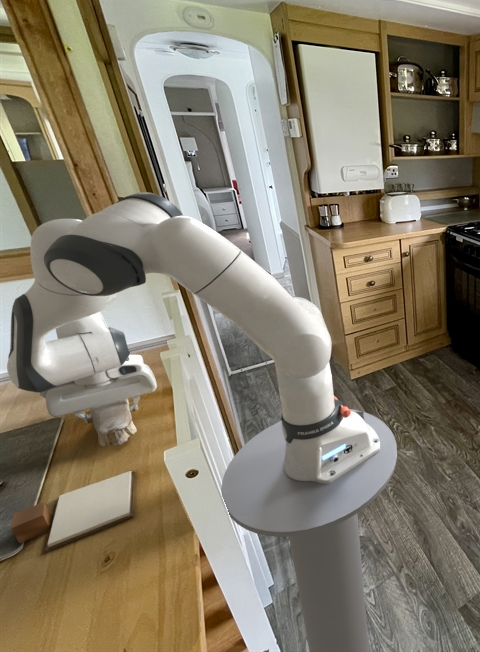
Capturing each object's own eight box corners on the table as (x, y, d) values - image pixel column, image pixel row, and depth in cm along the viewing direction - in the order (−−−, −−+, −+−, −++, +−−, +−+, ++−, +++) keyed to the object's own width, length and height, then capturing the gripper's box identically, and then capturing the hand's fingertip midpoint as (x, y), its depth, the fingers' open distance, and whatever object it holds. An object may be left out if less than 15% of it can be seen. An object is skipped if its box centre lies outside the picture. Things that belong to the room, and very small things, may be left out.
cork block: (51, 516, 74) (44, 501, 73) (51, 530, 71) (43, 514, 70) (21, 529, 71) (13, 513, 70) (19, 543, 69) (10, 528, 67)
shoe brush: (141, 437, 94) (136, 420, 92) (101, 452, 88) (94, 435, 87) (127, 396, 109) (122, 381, 107) (91, 407, 104) (85, 392, 102)
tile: (134, 472, 85) (133, 468, 84) (133, 517, 75) (131, 512, 74) (59, 499, 78) (56, 494, 77) (45, 552, 67) (43, 547, 67)
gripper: (32, 389, 84) (54, 438, 89) (149, 363, 97) (162, 408, 101) (38, 377, 89) (58, 424, 94) (148, 353, 101) (161, 396, 106)
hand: (113, 415), depth 98 cm, fingers closed on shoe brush, 7 cm apart
